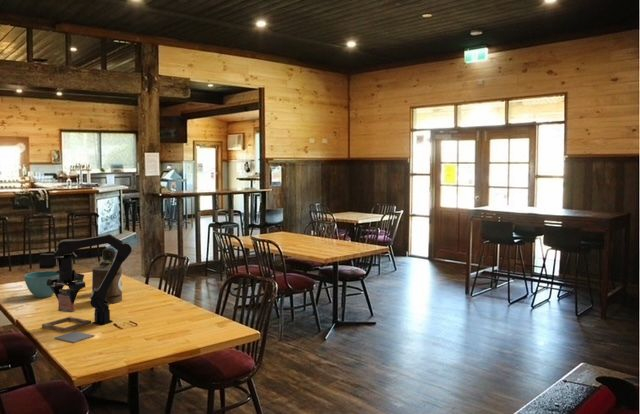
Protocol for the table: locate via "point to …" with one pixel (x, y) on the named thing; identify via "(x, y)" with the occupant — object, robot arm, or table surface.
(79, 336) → the charcoal mat
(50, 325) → the square wooden frame
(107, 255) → the spray bottle
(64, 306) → the lighter
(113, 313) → the table surface
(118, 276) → the wooden container
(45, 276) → the teal bowl
